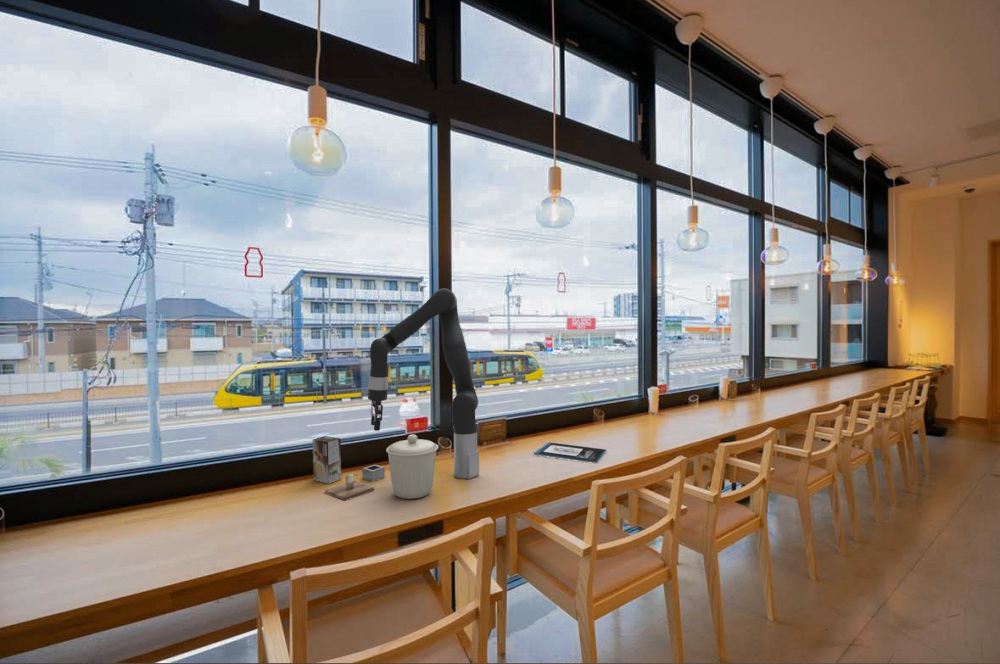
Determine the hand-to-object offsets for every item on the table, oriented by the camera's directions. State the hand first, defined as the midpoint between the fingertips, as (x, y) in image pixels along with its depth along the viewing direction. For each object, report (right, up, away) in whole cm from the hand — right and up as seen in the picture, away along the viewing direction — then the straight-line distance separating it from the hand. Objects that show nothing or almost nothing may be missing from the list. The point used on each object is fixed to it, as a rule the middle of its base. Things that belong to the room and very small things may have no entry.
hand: (375, 427), depth 175 cm
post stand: (-4, -19, -18) cm, 27 cm away
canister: (+19, -19, -21) cm, 34 cm away
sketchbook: (+83, -19, +29) cm, 90 cm away
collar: (+1, -19, -4) cm, 19 cm away
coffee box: (-17, -19, -6) cm, 26 cm away
